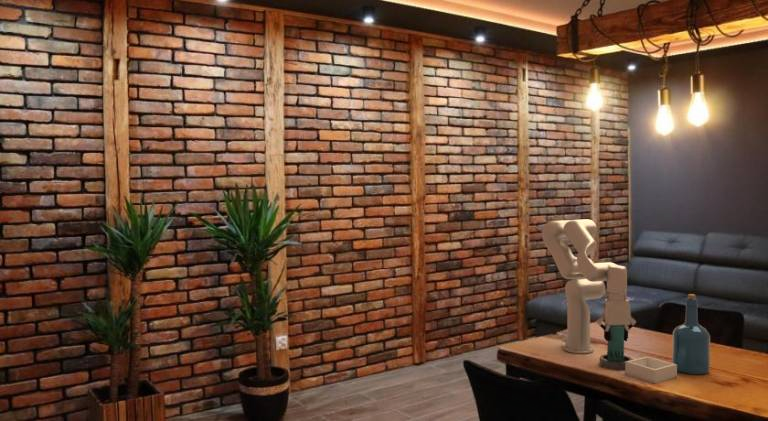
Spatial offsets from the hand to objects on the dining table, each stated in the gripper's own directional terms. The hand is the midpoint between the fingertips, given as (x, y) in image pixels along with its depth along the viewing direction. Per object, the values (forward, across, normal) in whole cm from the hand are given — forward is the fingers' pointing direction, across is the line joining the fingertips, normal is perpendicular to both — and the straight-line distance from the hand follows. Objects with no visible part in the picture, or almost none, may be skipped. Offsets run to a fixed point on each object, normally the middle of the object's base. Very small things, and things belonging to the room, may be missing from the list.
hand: (615, 340), depth 260 cm
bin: (+10, +8, -14) cm, 19 cm away
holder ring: (+10, 0, 0) cm, 10 cm away
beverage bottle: (+10, 0, 0) cm, 10 cm away
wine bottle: (+10, +27, -8) cm, 30 cm away
